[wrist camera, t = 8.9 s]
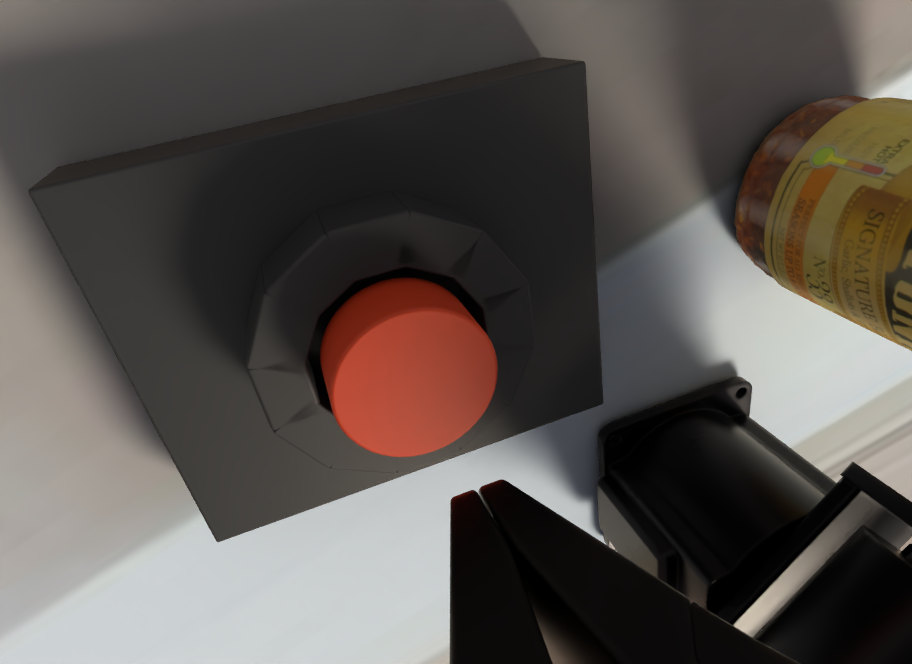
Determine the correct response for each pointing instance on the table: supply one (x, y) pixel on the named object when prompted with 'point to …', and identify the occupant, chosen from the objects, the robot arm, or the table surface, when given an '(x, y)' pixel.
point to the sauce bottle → (837, 210)
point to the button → (406, 367)
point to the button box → (337, 271)
